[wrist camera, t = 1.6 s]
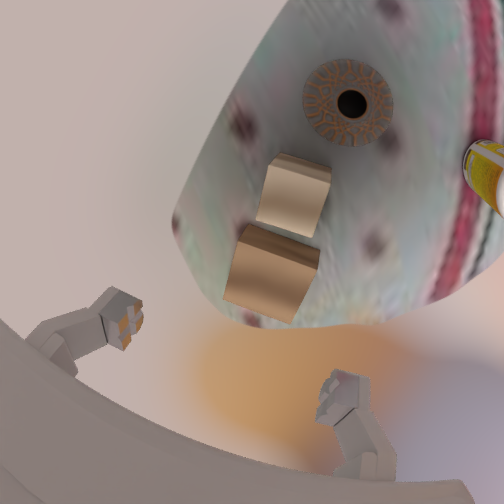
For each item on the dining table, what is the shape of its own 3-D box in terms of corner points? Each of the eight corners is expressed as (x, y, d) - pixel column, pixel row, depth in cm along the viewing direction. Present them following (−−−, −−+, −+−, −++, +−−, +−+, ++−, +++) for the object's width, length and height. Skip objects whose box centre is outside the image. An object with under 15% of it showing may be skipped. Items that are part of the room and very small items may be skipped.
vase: (291, 93, 23) (270, 92, 16) (351, 50, 19) (359, 29, 12) (338, 152, 24) (340, 180, 17) (399, 113, 21) (428, 123, 14)
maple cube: (280, 152, 26) (268, 164, 22) (331, 168, 25) (330, 184, 21) (268, 199, 29) (255, 219, 25) (316, 214, 28) (311, 238, 24)
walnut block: (249, 222, 31) (237, 240, 28) (320, 248, 30) (317, 270, 27) (233, 278, 36) (222, 299, 32) (295, 301, 35) (290, 324, 32)
